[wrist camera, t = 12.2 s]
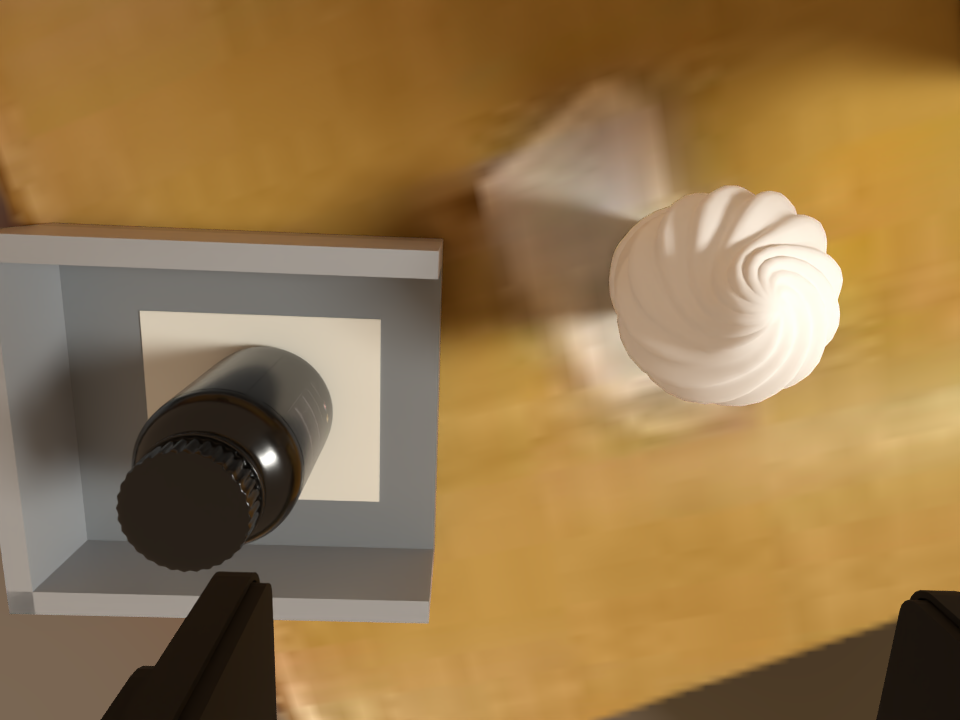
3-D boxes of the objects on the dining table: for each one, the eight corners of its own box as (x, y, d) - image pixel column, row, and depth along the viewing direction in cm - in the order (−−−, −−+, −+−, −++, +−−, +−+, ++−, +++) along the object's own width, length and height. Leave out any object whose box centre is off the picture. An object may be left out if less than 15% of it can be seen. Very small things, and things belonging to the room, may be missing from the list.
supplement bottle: (213, 471, 37) (98, 603, 26) (195, 346, 36) (63, 425, 24) (343, 465, 37) (287, 593, 26) (330, 340, 36) (265, 416, 24)
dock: (443, 238, 37) (438, 251, 30) (434, 550, 41) (428, 623, 34) (53, 223, 36) (-43, 232, 29) (86, 541, 40) (9, 613, 33)
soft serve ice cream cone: (760, 240, 37) (974, 280, 21) (668, 370, 39) (806, 496, 23) (630, 153, 36) (758, 129, 20) (541, 291, 37) (596, 367, 22)
